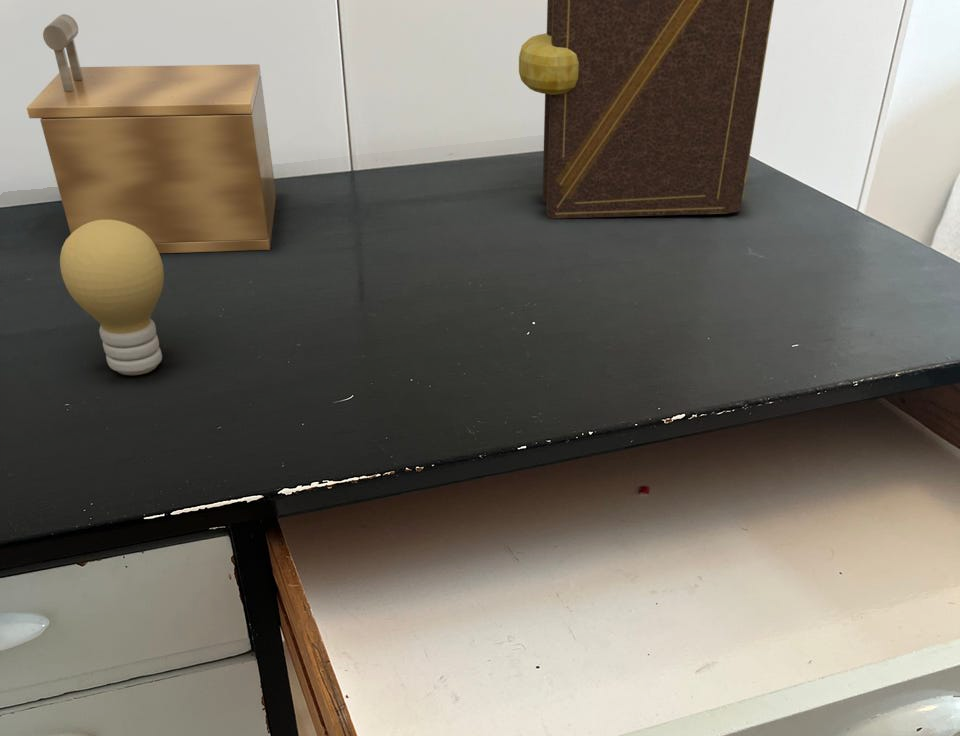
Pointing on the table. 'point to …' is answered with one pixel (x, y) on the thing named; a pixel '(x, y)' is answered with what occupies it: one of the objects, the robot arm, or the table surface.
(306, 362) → the table surface
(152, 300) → the light bulb
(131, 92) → the lid
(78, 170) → the chest
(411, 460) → the table surface
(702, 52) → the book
